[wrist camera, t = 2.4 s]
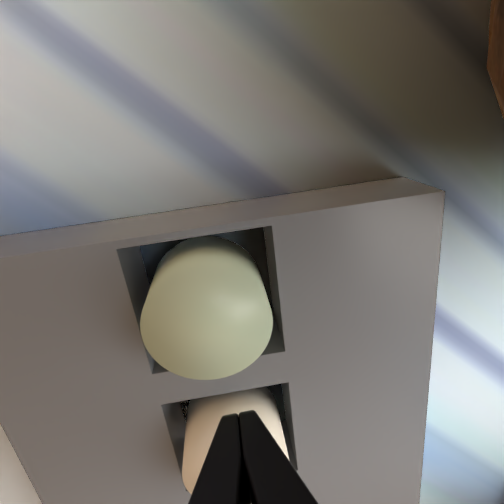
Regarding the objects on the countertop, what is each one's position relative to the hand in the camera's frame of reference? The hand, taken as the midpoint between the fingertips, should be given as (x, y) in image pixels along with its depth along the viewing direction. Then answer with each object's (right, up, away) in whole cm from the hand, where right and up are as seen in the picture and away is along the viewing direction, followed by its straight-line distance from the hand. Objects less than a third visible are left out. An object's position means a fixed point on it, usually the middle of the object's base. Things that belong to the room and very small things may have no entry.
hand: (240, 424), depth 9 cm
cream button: (-1, -3, +8) cm, 9 cm away
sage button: (-1, +3, +6) cm, 7 cm away
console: (-1, -3, +10) cm, 10 cm away
